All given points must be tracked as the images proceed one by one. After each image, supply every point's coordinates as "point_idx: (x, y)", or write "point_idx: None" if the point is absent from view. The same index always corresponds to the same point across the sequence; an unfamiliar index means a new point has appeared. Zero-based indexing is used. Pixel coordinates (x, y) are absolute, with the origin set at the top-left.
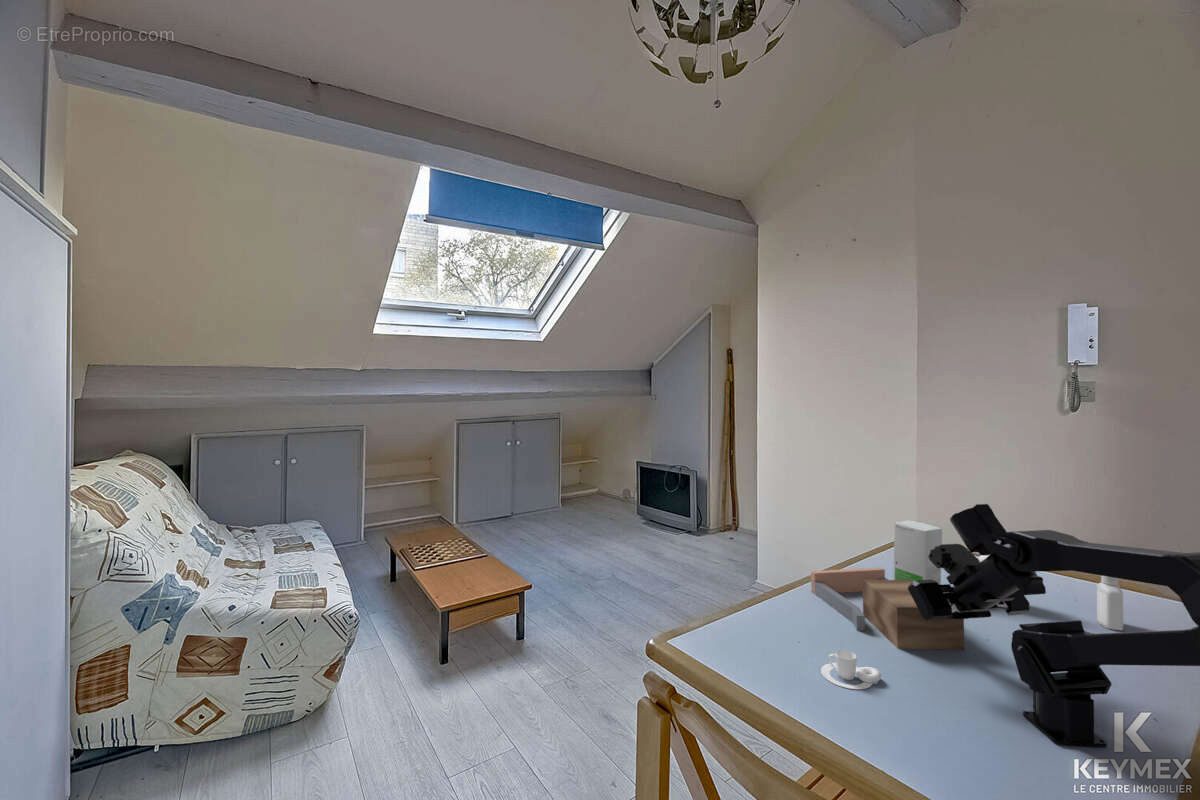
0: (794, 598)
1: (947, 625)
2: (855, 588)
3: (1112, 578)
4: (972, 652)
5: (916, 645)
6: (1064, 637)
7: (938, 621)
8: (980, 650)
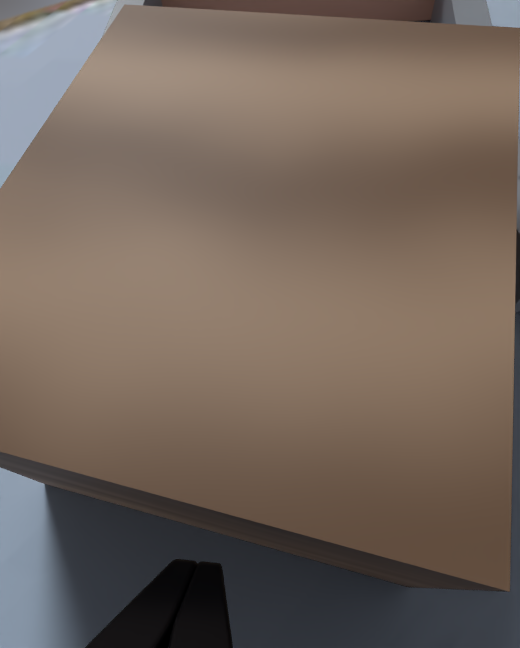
0: (43, 50)
1: (310, 549)
2: (319, 9)
3: None
4: (435, 635)
5: (131, 507)
6: None
7: (235, 526)
8: (511, 624)
